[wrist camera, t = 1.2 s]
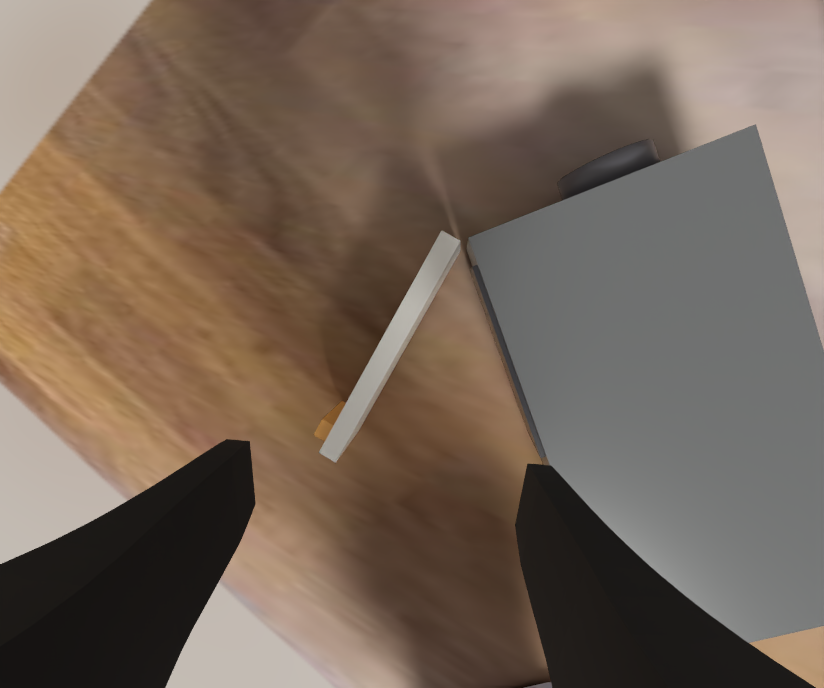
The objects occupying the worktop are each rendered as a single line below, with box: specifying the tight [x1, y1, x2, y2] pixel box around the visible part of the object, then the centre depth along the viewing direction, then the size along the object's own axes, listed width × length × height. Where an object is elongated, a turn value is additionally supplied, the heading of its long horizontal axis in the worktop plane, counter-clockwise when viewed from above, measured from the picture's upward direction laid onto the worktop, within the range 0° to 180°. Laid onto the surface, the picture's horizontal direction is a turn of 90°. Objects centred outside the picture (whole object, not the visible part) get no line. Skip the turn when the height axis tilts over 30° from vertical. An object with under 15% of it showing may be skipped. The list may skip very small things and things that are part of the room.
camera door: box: [314, 231, 461, 463], centre depth 18 cm, size 10×1×4 cm, turn 151°
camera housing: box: [466, 124, 824, 643], centre depth 18 cm, size 19×10×4 cm, turn 21°
